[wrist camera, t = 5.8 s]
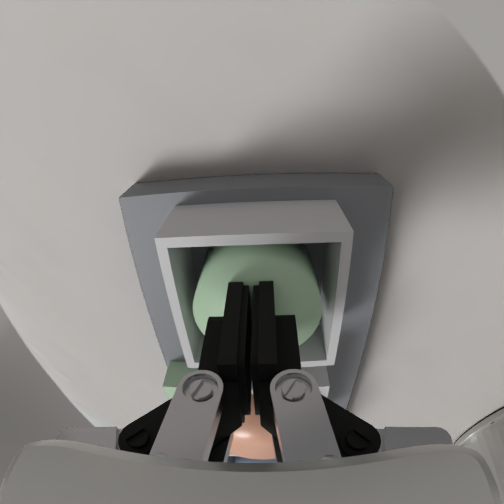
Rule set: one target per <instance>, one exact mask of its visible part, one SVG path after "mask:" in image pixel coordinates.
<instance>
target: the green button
mask: <svg viewBox="0 0 504 504" xmlns="http://www.w3.org/2000/svg"><path fill="white" fill-rule="evenodd" d="M259 281H273V283H274V303H275V315H295V318H296V326H297V334H298V343H299V346H300V345H301V344H302V343H304V342H305V341H306V340H307V339H308V338H309V337H310V336H311V335H312V334H313V333H314V331H315V330H316V328H317V326H318V324H319V322H320V319H321V314H322V303H321V297H320V293H319V289H318V284H317V280H316V276H315V272H314V268H313V264H312V260H311V256H310V254H309V251H308V249H307V247H306V246H305V244H304V243H295V244H264V245H234V246H210V248H209V250H208V252H207V255H206V258H205V261H204V265H203V268H202V271H201V275H200V278H199V282H198V285H197V289H196V292H195V296H194V300H193V315H194V318H195V321H196V324H197V326H198V328H199V329H200V330H201V332H202V333H203V334H204V335H205V331H206V326H207V321H208V318H209V317H217V316H224V309H225V302H226V295H227V288H228V283H229V282H243V283H244V285H249V291H250V305H251V318H252V307H253V285H259Z"/></svg>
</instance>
